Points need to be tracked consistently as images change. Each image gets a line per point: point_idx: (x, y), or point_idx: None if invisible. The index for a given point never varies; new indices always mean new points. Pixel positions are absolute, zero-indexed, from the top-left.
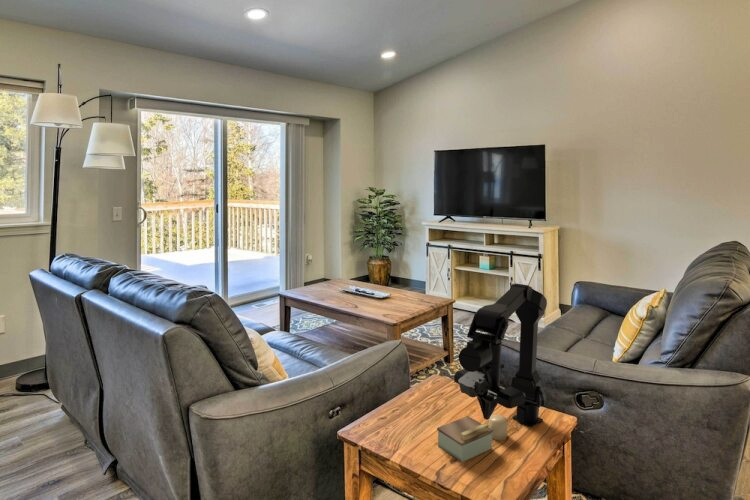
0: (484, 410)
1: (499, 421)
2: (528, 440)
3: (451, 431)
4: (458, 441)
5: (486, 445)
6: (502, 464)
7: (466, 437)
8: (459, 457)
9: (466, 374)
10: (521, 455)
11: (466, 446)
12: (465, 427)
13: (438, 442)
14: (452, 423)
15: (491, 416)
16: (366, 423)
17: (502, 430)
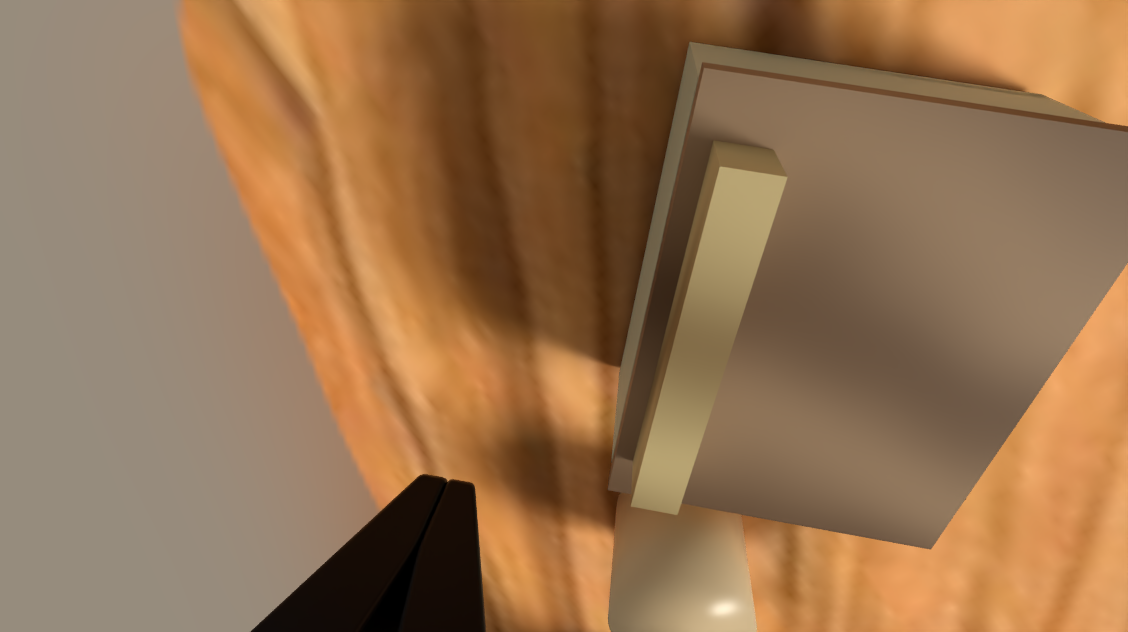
0: (401, 616)
1: (653, 606)
2: (517, 560)
3: (961, 210)
4: (764, 80)
5: (627, 353)
6: (453, 270)
7: (704, 197)
8: (726, 52)
9: None
10: (445, 427)
11: (680, 140)
12: (848, 383)
13: (1057, 104)
14: (1027, 360)
15: (743, 629)
16: None
17: (620, 546)
